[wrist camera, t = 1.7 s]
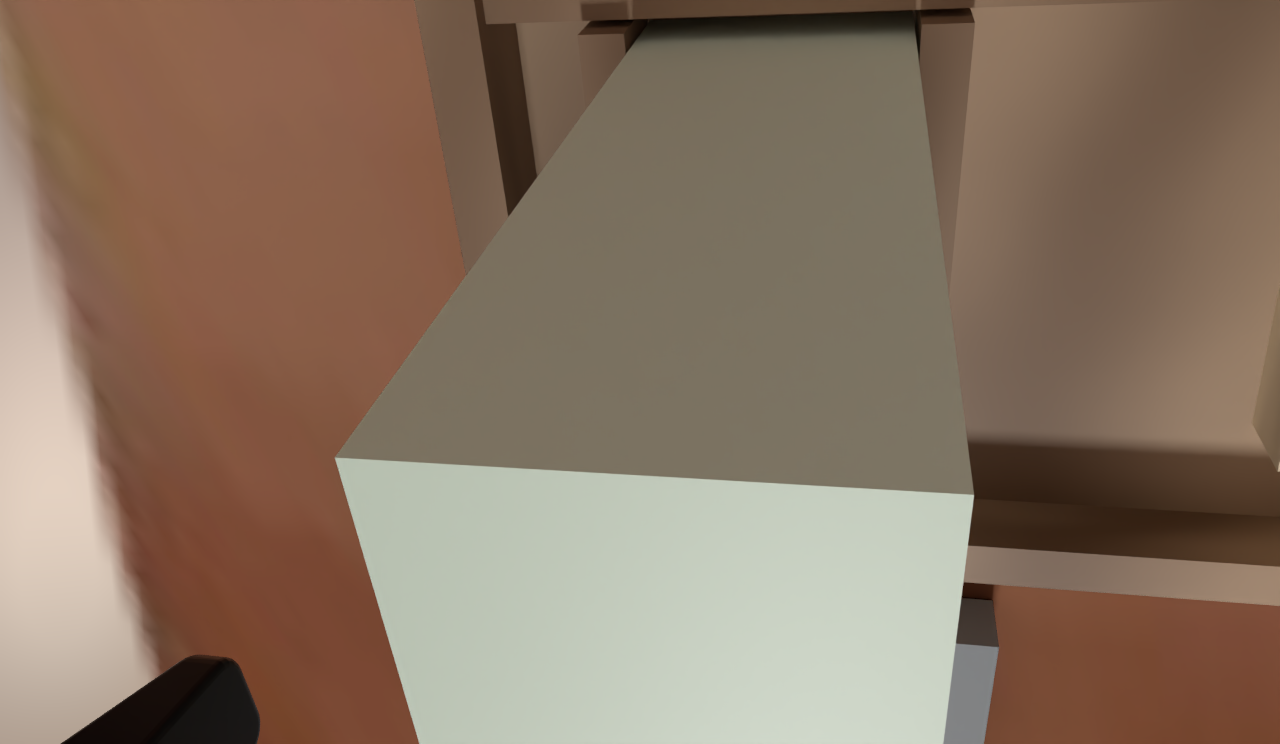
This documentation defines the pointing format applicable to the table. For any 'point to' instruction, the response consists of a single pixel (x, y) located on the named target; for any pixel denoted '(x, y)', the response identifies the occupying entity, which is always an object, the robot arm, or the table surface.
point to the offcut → (1270, 394)
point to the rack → (1017, 252)
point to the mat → (972, 673)
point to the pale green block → (690, 418)
